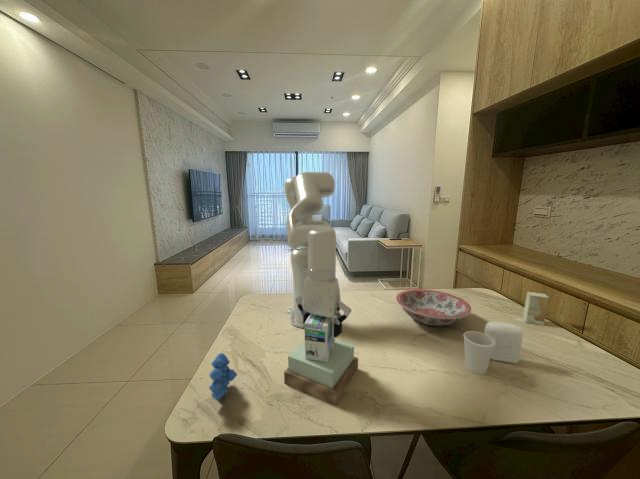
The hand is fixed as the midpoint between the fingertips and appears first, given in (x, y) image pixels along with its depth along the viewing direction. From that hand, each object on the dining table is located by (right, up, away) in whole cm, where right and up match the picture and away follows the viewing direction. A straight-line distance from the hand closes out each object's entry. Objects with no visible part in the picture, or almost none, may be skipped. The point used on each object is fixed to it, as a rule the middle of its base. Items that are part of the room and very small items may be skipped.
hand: (321, 330), depth 75 cm
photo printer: (+58, -13, +10) cm, 60 cm away
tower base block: (0, -15, +2) cm, 15 cm away
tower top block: (0, -11, +2) cm, 11 cm away
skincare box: (+89, -8, +34) cm, 95 cm away
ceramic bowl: (+47, -8, +37) cm, 60 cm away
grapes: (-26, -16, -5) cm, 31 cm away
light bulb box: (0, -6, +1) cm, 6 cm away
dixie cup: (+48, -14, +6) cm, 50 cm away
